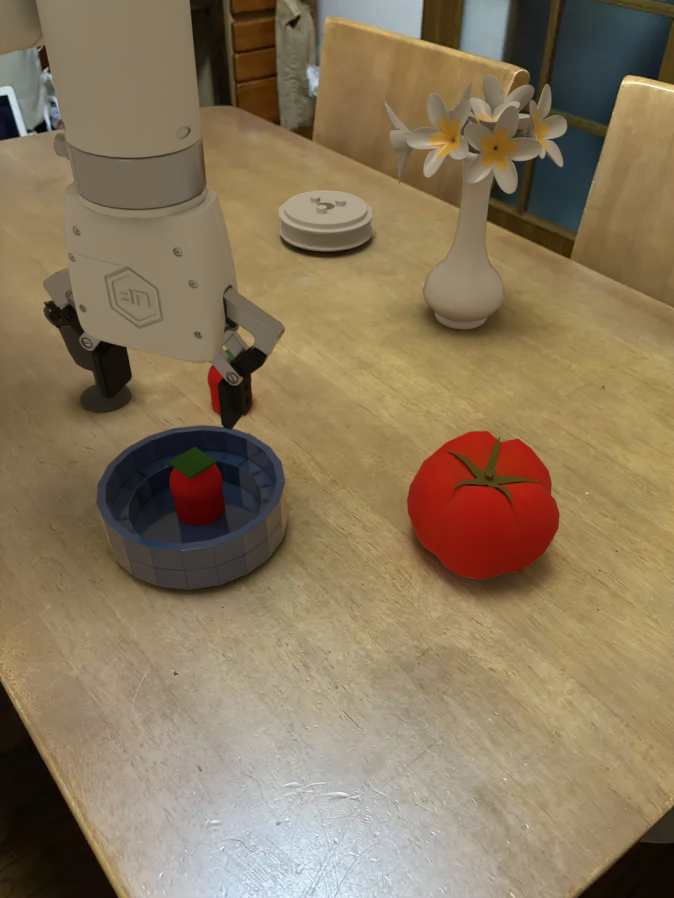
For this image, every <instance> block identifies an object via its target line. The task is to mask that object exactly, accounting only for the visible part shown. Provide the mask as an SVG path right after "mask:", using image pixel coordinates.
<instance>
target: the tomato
mask: <svg viewBox="0 0 674 898" xmlns="http://www.w3.org/2000/svg"><path fill="white" fill-rule="evenodd" d="M552 481H553V480H552V479H551V473H550V470H549V469H548V467H547V466H546V465H545V463H544V462H543V461H542V460H541V458H540V457H539V456H538V454H537V453H536V452H535V451H534V450H533V448H531V447H530V446H529V445H527V444H526V443H525V442H523V440H521V439H520V438H512V439H508V440H504V441H503V440H502V441H501V436H499V437H498V438H497V437H496V436H495V435H493V434H492V433H491V432H490V431H488V430H478V431H477V430H476V431H475V430H473V431H468V432H465V433H463V434H461V435H459V436H457V437H454V438H452V439H450V440H448V441H446V442H445V443H444V444H442V445H441V446H440V447H439V448H438V449H437V450H435V452H433V453H432V454H431V455H430V456H428V457H427V458H426V459H425V460H423V462H422V463H421V465H420V467H419V469H418V471H417V472H416V474H415V476H414V478H413V479H412V481H411V482H410V485H409V489H408V492H407V498H406V505H407V514H408V517H409V520H410V523H411V525H412V528H413V530H414V532H415V535H416V537H417V539H418V540H419V542H420V543H421V544H422V546H423V547H424V548H425V550H428V551H429V552H430V553H432V554H434V555H435V556H437V558H438V559H439V561H440V562H441V564H443V566H444V567H445V568H446V569H448V570H449V571H451V572H453V573H454V574H456V575H458V576H460V577H465V578H469V579H475V580H480V581H481V580H486V579H490V578H494V577H497V576H501V575H505V574H506V575H507V574H511V573H513V574H514V573H517V572H522V571H523V570H525V569H526V568H528V567H529V566H530V565H532V564H534V562H536V561H538V560H539V559H540V558H541V557H542V556H544V554H545V553H546V551H547V549H548V548H549V547H550V545H551V543H552V542H553V540H554V538H555V536H556V534H557V532H558V531H559V529H560V528H559V527H560V516H561V515H560V510H559V507H558V503H557V501H556V499H555V497H554V496H553V495H552V488H553V487H552V486H553V484H552Z"/></svg>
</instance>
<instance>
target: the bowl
mask: <svg viewBox="0 0 674 898" xmlns="http://www.w3.org/2000/svg"><path fill="white" fill-rule="evenodd" d="M194 447H196V448H198V449H199V450H201V451H202V452H204V453H205V454H207V455H208V456H209V457H211V458H212V459H214V460H215V461H216V464H215V465H216V466H217V468H218V469H219V471H220V473H221V475H222V481H223V485H222V489H223V496H224V503H225V510H224V512H223V514H222V516H221V517H220V518H219V519H217V520H216V521H214V522H212V523H210V524H207V525H202V526H193V525H189V524H186V523H184V522H182V521H181V520H180V519H179V518H178V516H177V513H176V508H175V503H174V498H173V494H172V492H171V489H170V476H171V473H172V471H173V469H174V467H173V466H171V465H170V463H169V461H171V460H173V459H175V458H176V457H178V456H180V455H181V454H183V453H185V452H187V451H188V450H190V449H192V448H194ZM287 499H288V498H287V485H286V476H285V472H284V468H283V463H282V461H281V459H280V458H279V457H278V455H277V454H276V453H275V451H274V450H273V449H272V447H271V446H270V445H268V444H266V443H265V442H264V441H262V440H261V439H259V438H257V437H256V436H254V435H252V433H248V432H245V431H241V430H239V429H237V428H233V429H232V430H230V429H226V428H224V427H223V426H220V425H219V426H218V425H205V424H202V425H201V424H198V425H191V426H179V427H173V428H170V429H166V430H163V431H160V432H157V433H153V434H150V435H148V436H146V437H143V438H142V439H141V440H138V441H136V442H135V443H133V444H131V445H129V446H127V447H126V448H124V449H123V450H122V451H121V452H120V453H119V454H118V455H117V456H116V457H115V458H114V459H112V461H111V462H109V464H108V465H107V466H106V468H105V470H104V471H103V473H102V475H101V477H100V479H99V480H98V483H97V487H96V501H95V505H96V508H97V512H98V515H99V518H100V521H101V524H102V528H103V531H104V535H105V538H106V541H107V543H108V546H109V548H110V550H111V553H112V555H113V558H114V559H115V562H116V563H117V564H118V565H119V566H120V567H122V568H123V569H124V570H125V571H126V572H127V573H129V574H130V575H131V576H132V577H133V578H135V579H138V580H140V581H143V582H145V583H148V584H151V585H154V586H156V587H159V588H166V589H167V588H168V589H177V590H186V591H188V590H196V589H197V590H198V589H203V588H211V587H216V586H221V585H224V584H226V583H229V582H232V581H234V580H237V579H239V578H242V577H244V576H246V575H249V574H250V573H251V572H253V571H254V570H255V569H257V568H258V567H260V566H261V565H262V564H263V563H265V562H266V561H268V560H269V559H270V558H271V556H272V555H273V554H274V552H275V551H276V549H277V548H278V547H279V545H280V544H281V543H282V541H283V539H284V537H285V533H286V529H287V524H288V520H289V517H288V514H289V513H288V501H287Z"/></svg>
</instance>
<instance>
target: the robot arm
mask: <svg viewBox="0 0 674 898" xmlns="http://www.w3.org/2000/svg"><path fill="white" fill-rule="evenodd" d="M194 44H195V43H194V34H193V23H192V13H191V1H190V0H0V56H3V55H7V54H10V53H14V52H19V51H24V50H31V49H35V48H39V47H43V46H45V52H46V56H47V62H48V65H49V71H50V75H51V80H52V84H53V88H54V93H55V97H56V103H57V107H58V113H59V117H60V121H61V126H62V130H63V132H57V133H56V134H55V136H54V139H53V149H54V152H55V154H56V155H57V156H58V157H60V158H65V159H67V160H68V161H69V163H70V168H71V172H72V177H73V182H71V183H69V184H68V185H66V187H65V190H64V213H63V214H64V215H63V217H64V219H63V220H64V221H63V223H64V241H65V242H64V243H65V250H66V251H65V252H66V259H67V260H66V261H67V267H66V268H63V269H60V270H57V271H55V272H54V273H52V274H51V275H50V276H48V277H47V278H46V279H44V280H43V281H42V286H43V288H44V290H45V292H46V293H47V295H49V297H50V299H51V298H52V299H51V301H52V300H53V301H54V303H55V304H56V306H57V307H60V309H61V311H60V314H61V317H62V318H63V320H64V321H65V322H66V323H67V324H68V325H69V326H70V327H71V328H73V329H74V330H75V331H76V332H77V333H78V334H79V335H80V336H81V337H80V338H79V341H80V344H81V345H82V347H83V348H85V349H86V350H89V351H91V354H92V359H93V363H94V367H95V371H96V375H97V378H98V382H99V386H100V390H101V395H102V397H104V398H108V399H111V398H113V397H114V396H115V395H116V394H117V393H118V392H119V391H120V390H121V389H122V388H123V387H124V386H127V384H128V383H130V381H131V380H132V378H133V373H132V368H131V362H130V357H129V353H128V349H132V350H137V351H139V352H140V351H141V352H145V353H149V354H152V355H156V356H161V357H166V358H170V359H174V360H178V361H183V362H188V363H194V364H205V363H209V364H211V366H212V365H213V366H214V367H215V368H216V370H217V371H218V372H219V373H220V374H221V376H222V377H223V378H222V379H221V381H220V382H219V383H218V395H219V405H220V414H219V415H220V424H221V427H224V428H226V429H230V430H232V429H234V427H235V426H236V425H237V424H238V422H239V420H240V419H241V418H242V416H244V417H245V416H247V414H248V413H250V410H251V409H252V407H251V405H252V399H253V391H252V392H251V388H252V382H251V378H252V376H251V377H250V374H251V375H252V374H253V373H254V372H256V371H257V370H259V369H260V368H261V367H262V366H264V364H265V363H266V361H267V360H268V359H269V358H270V357H271V355H272V354H273V352H274V350H275V348H276V347H277V345H278V344H279V342H280V340H281V338H282V337H283V336H284V333H285V332H286V328H285V326H284V324H283V323H282V322H281V321H279V320H277V319H276V318H275V317H274V316H272V315H271V314H269V313H268V312H266V311H265V310H264V309H262V308H261V307H259V306H258V305H257V304H255V303H254V302H252V301H250V299H248V298H247V297H246V296H244V295H242V294H240V293H239V289H238V288H239V287H238V280H237V274H236V267H235V261H234V256H233V249H232V244H231V241H230V236H229V233H228V228H227V225H226V220H225V217H224V213H223V210H222V207H221V204H220V200H219V197H218V194H217V192H216V191H215V190H214V189H211V188H209V187H208V184H207V174H206V173H207V172H206V163H205V151H204V142H203V131H202V130H203V129H202V119H201V109H200V97H199V96H200V95H199V88H198V75H197V66H196V65H197V64H196V53H195V45H194ZM240 327H241V328H242V329H244V330H245V331H247V332H248V333H249V334H251V335H252V336H253V338H254V342H253V344H252V345H251V346H249V345H248V344H247V343H246V341H245V340H244V339H243V338H242V336H241V335H240V334H239V332H238V330H239V328H240ZM223 346H224V347H225V348H226V350H227V349H228V350H229V351H230V353H231V354H232V355H233V356H234V357H235V359H234V360H232V359H231V358H230V357H229V356H228V354H227V353H226V352H225V349H224V348H223ZM209 361H210V362H209ZM252 406H253V405H252Z"/></svg>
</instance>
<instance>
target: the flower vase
mask: <svg viewBox="0 0 674 898" xmlns="http://www.w3.org/2000/svg"><path fill="white" fill-rule="evenodd" d="M482 80H483V81H482V92H483V96H484V100H483V99H481V98H478V97H474V96H473V95H472V87H473V82H469V83H468V85H467V86H466V88H465V89H464V90H463V93H462V95H461V97H460V100H459V102H458V103H457V104H456V106H455V107H452V108H451V109H448V108H447V106H446V104H445V102H444V100H443V99H442V97H441V96H440V95H439V94H438V93H436V92H432V93H431V94H429V96H428V98H427V101H426V112H427V117H428V120H429V122H430V124H431V125H432V127H430V126H423V127H422V126H421V127H418V128H415V129H413V130H412V131H410V129H409V128H408V127H407V126H406V125H405V124H404V123H403V122H402V120H401V119H399V117H398V116H397V115H396V114H395V112H394V111H393V110H392V108H391V107H390V106H389V104H388V102H387V101H386V100H385V101H384V105H385V108H386V109H385V110H386V112H387V115H388V118H389V125H390V129H391V130H390V132H389V141H390V146H391V148H392V150H393V152H394V153H396V154H397V177H398V178H397V179H398V185H400V184H401V182H402V178H403V175H404V171H405V169H406V166H407V163H408V161H409V158H410V156H411V154H412V152H413V150H420V151H422V150H423V151H426V150H431V151H429V153H428V154H427V155H426V157H425V160H424V162H423V176H424V177H425V178H428V179H429V178H432V177H433V176H434V175H435V174H436V173H437V172H438V171H439V169H440V167H441V166H442V164H443V162H444V161H445V159H446V158H447V157H448V156H449V157H450V158H451V159H453V160H456V161H460V163H461V177H462V178H461V194H460V195H461V196H460V203H459V210H458V217H457V224H456V229H455V234H454V239H453V241H452V244H451V246H450V249H449V250H448V252H447V254H446V256H445V257H444V258H443V260H441V261H439V262H438V263H437V264H436V265H435V266H434V267H433V268H432V269H431V270H430V271H429V272H428V274H427V275H426V277H425V280H424V284H423V287H422V294H423V299H424V300H425V302H426V304H427V306H428V307H429V308H430V309H431V310H432V311H433V314H434V318H435V319H436V321H437V322H438V323H440V324H441V325H443V326H445V327H447V328H450V329H454V330H460V331H461V330H462V331H465V330H466V331H467V330H474V329H476V328H477V329H478V328H479V327H481V326H482V325H484V324H485V322H486V321H487V320H488V318H489V317H490V316H492V315H493V314H495V312H497V311H498V309H499V308H500V307H501V305H502V304H503V302H504V298H505V285H504V282H503V279H502V277H501V275H500V273H499V272H498V270H497V269H496V268H495V267H494V265H493V264H492V263H491V261H490V259H489V255H488V251H487V239H486V238H487V224H488V223H487V222H488V212H489V205H490V204H489V203H490V196H491V190H492V186H493V182H494V179H495V181H496V183H497V186H499V188H500V189H501V190H502V191H503V192H504V193H505V194H508V195H511V194H514V193H515V192H516V190H517V188H518V182H519V179H518V177H519V176H518V171H517V168H516V165H515V163H514V162H513V161H515V162H526V161H530V160H533V159H535V158H537V157H539V158H540V159H541V160H543V159H545V157H546V155H547V156H548V157H549V158H550V160H551V161H552V162H553V163H555V164H556V166H558V167H559V168H563V166H564V159H563V155H562V152H561V149H560V147H559V146H558V145H557V144H556V142H554V141H553V139H558V138H560V137H562V136H563V135H565V133H566V132H567V129H568V121H567V119H566V118H565V117H564V116H562V115H560V114H553V115H551V116H548V115H549V113H550V110H551V107H552V91H551V87H550V84H548V83H546V84H545V85H544V86H543V89H542V91H541V94H540V97H539V100H538V103H536V101H535V100H534V99H533V97H534V94H535V88H534V86H533V85H532V84H523V85H520V86H518V87H516V88H515V89H514V90H513V91H511V92H510V93H509V94H508V95H507V96H506V99H505V92H504V88H503V86H502V84H501V82H500V80H499V79H498V78H497V77H496V76H494V75H492V74H487V75H485V76H484V78H483V79H482ZM528 104H529V105H528ZM527 105H528V106H529V113H520V112H521V110H522V109H524V108H525V107H526V106H527ZM547 116H548V117H547ZM470 122H471V123H470Z"/></svg>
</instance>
